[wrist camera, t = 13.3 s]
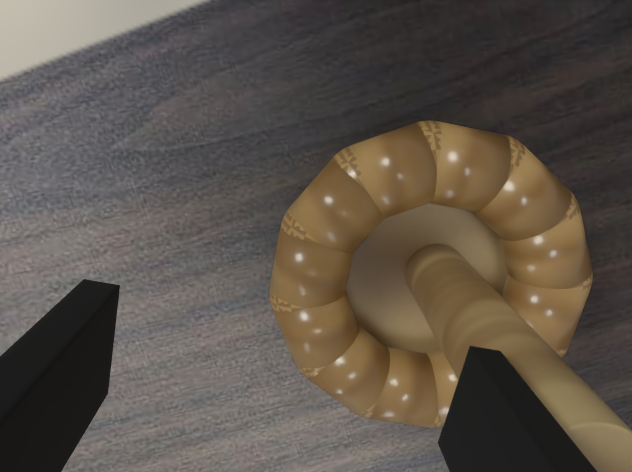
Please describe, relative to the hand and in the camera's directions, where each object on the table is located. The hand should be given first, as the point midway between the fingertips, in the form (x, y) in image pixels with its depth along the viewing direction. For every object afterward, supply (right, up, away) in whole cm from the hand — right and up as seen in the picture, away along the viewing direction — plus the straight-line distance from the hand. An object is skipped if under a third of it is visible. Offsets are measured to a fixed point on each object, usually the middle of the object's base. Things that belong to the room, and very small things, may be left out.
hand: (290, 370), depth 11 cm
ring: (+5, +1, +8) cm, 10 cm away
